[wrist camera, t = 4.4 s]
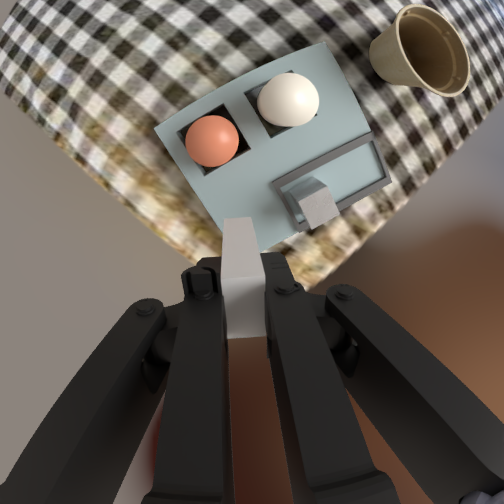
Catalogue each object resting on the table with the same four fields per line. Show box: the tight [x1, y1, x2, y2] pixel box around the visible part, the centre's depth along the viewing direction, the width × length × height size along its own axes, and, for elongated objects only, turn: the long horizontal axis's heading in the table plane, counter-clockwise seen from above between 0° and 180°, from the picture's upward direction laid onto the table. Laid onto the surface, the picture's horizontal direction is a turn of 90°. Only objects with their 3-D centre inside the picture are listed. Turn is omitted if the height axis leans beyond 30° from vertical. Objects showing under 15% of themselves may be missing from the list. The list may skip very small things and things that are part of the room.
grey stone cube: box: [288, 177, 340, 229], centre depth 24 cm, size 3×3×4 cm
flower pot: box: [369, 4, 470, 97], centre depth 18 cm, size 9×9×9 cm
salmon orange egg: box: [186, 115, 239, 167], centre depth 23 cm, size 4×4×4 cm
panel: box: [154, 41, 392, 252], centre depth 25 cm, size 16×18×3 cm
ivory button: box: [257, 73, 319, 127], centre depth 20 cm, size 4×4×4 cm
